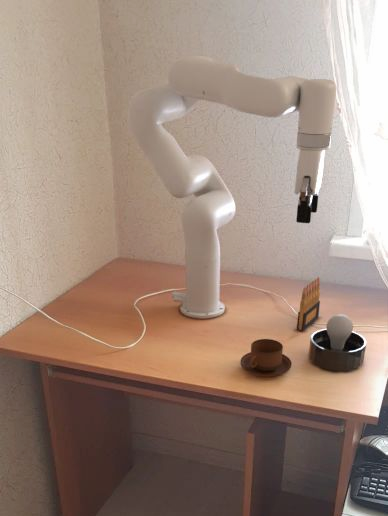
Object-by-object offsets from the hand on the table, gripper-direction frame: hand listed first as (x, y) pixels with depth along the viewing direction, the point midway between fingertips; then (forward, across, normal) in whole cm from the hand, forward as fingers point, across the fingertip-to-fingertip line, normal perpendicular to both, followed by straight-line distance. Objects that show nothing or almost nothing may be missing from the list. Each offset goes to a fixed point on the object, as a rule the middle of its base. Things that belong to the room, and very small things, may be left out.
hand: (306, 217), depth 150 cm
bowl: (+30, +13, +12) cm, 35 cm away
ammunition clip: (+31, -6, +2) cm, 31 cm away
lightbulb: (+30, +13, +12) cm, 34 cm away
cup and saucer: (+31, +23, -3) cm, 38 cm away
